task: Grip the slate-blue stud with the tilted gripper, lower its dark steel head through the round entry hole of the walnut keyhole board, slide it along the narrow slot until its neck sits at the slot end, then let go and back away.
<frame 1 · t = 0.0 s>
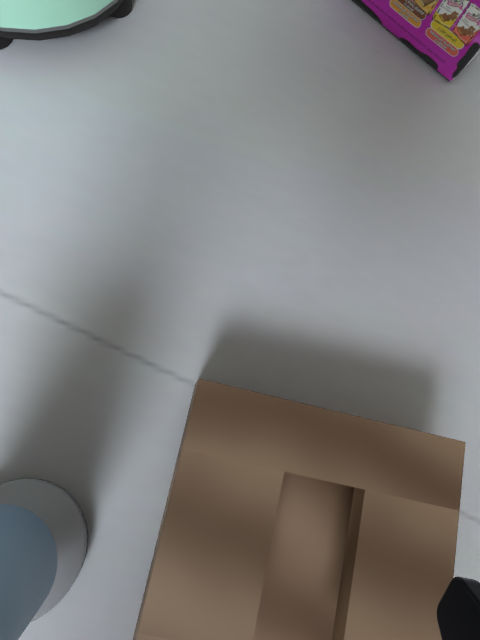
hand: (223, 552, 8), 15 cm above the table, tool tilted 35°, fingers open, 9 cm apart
candy bar box: (406, 17, 31), on the table
keyhole board: (275, 615, 22), on the table
keyhole stud: (20, 545, 21), on the table
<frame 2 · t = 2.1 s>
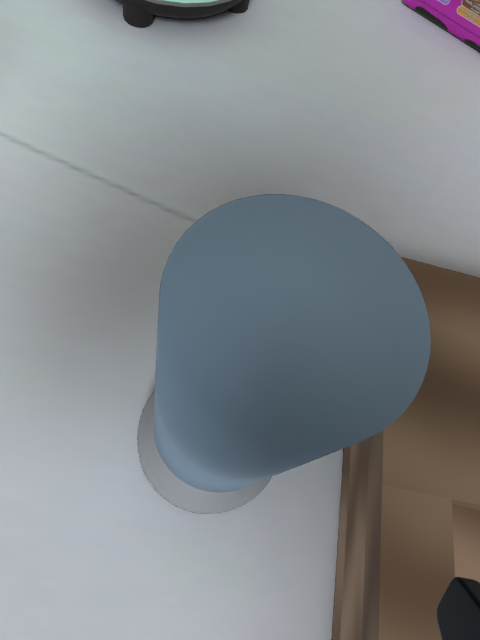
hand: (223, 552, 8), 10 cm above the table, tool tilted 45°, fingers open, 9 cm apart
candy bar box: (463, 29, 38), on the table
keyhole board: (477, 515, 20), on the table
keyhole stud: (208, 438, 19), on the table
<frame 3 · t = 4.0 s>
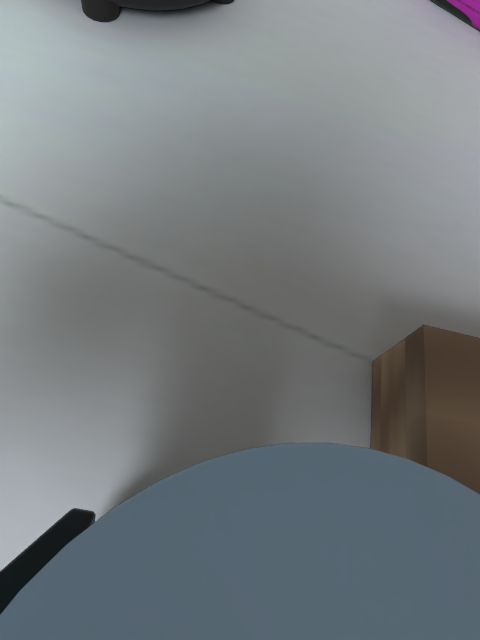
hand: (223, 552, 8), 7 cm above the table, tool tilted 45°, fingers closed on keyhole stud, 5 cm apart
keyhole stud: (181, 589, 14), on the table, touching gripper
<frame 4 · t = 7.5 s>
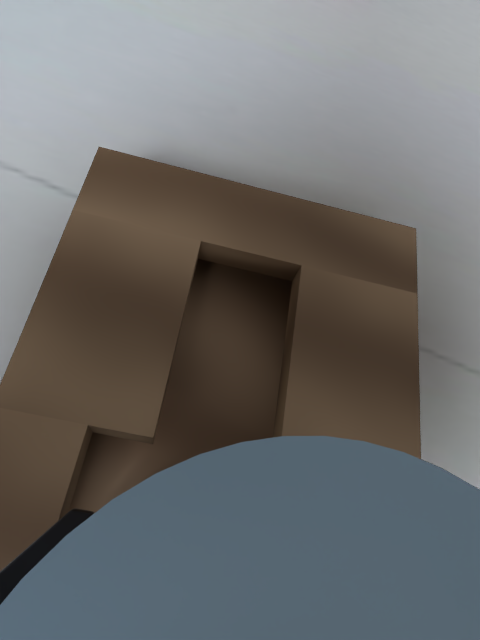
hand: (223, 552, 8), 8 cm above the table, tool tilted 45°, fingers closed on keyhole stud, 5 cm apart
keyhole board: (204, 459, 17), on the table
keyhole stud: (182, 588, 14), point 1 cm above the table, touching gripper
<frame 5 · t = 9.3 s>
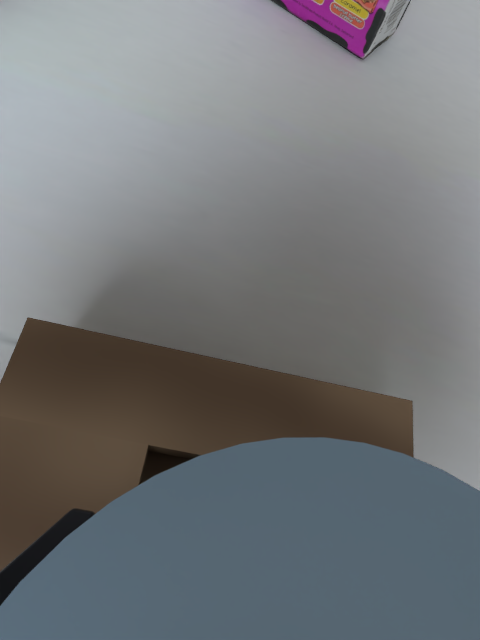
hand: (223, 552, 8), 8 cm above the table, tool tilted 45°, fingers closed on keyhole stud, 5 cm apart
candy bar box: (313, 8, 31), on the table
keyhole stud: (182, 589, 14), point 1 cm above the table, touching gripper
when the fingers open (8 cm above the table, at t = 11.0 s): keyhole stud stays where it is, resting on keyhole board.
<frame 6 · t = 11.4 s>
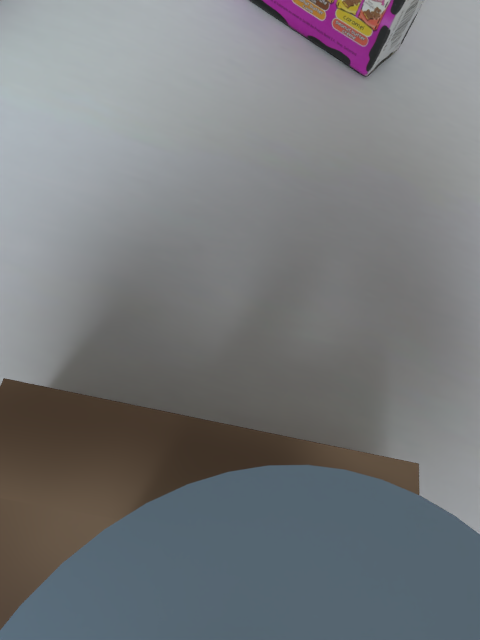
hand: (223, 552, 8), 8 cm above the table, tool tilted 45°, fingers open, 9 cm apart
candy bar box: (314, 22, 30), on the table
keyhole stud: (179, 591, 14), point 1 cm above the table, touching keyhole board
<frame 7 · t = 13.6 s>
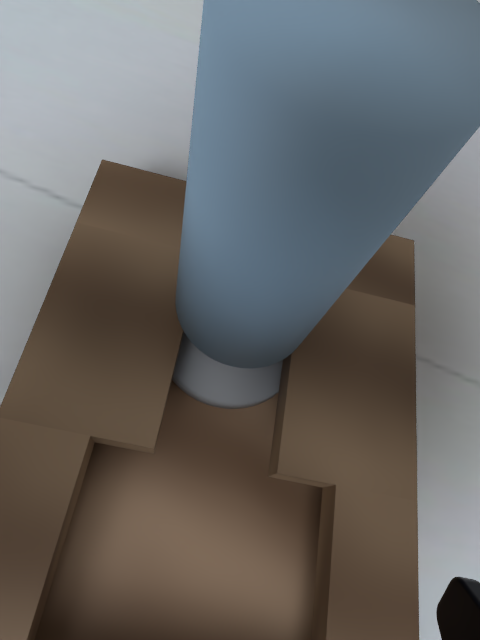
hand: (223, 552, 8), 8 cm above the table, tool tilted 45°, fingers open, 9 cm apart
keyhole board: (203, 467, 17), on the table
keyhole stud: (230, 337, 18), point 1 cm above the table, touching keyhole board
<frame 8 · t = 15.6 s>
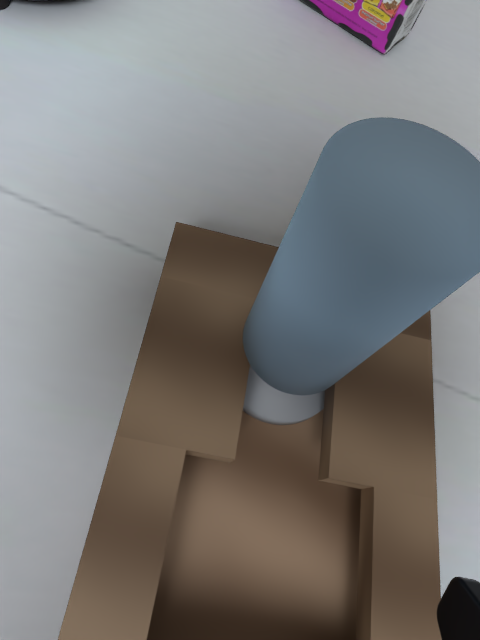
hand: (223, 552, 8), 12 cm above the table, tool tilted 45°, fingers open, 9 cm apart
candy bar box: (343, 13, 38), on the table
keyhole board: (260, 473, 21), on the table
keyhole stud: (278, 364, 22), point 1 cm above the table, touching keyhole board
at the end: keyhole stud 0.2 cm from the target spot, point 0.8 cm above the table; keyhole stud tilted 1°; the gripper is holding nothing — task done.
